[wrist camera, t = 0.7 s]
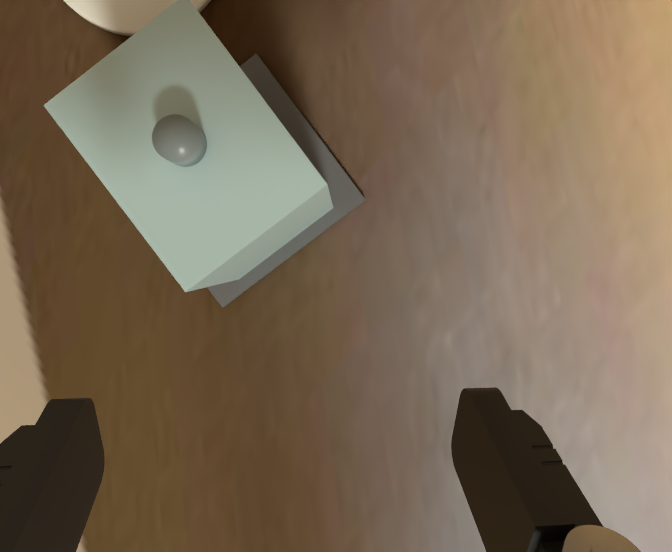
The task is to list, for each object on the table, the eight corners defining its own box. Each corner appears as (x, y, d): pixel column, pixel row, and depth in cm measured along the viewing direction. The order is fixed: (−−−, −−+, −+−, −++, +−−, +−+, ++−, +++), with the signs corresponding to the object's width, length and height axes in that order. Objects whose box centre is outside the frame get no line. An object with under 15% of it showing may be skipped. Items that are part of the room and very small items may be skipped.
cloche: (239, 82, 29) (174, -23, 18) (333, 208, 30) (326, 179, 18) (145, 155, 30) (24, 95, 18) (238, 279, 30) (175, 294, 19)
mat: (257, 56, 30) (256, 53, 29) (365, 200, 30) (365, 199, 30) (116, 165, 30) (113, 164, 30) (223, 306, 30) (222, 307, 30)
